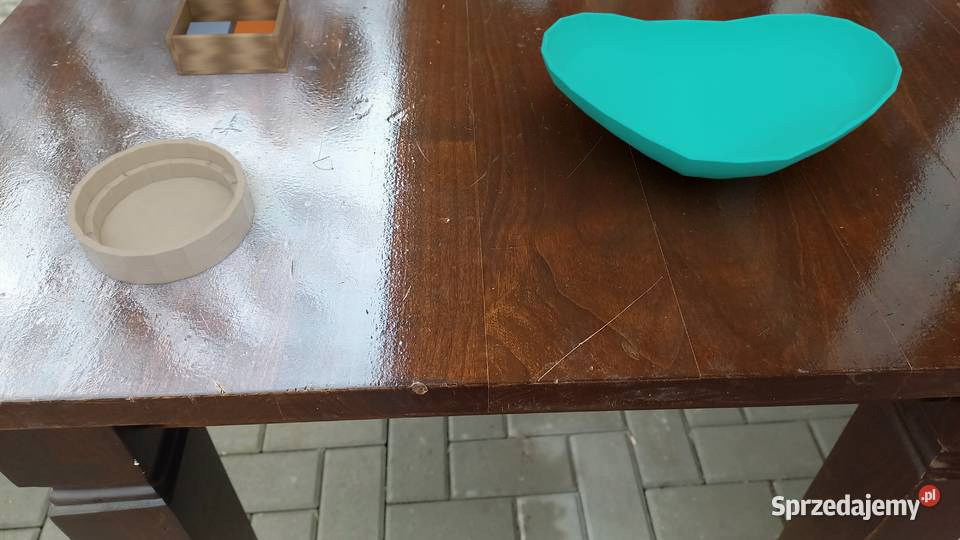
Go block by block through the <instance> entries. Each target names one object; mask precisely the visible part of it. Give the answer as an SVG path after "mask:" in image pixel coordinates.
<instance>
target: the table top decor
mask: <svg viewBox="0 0 960 540" xmlns="http://www.w3.org/2000/svg"><path fill="white" fill-rule="evenodd" d="M540 52H541V55H542V58H543V62H544V64H545V65H544V66H545V67H546V70H547V73H548V74H549V76H550V78H551V81H552V83H553V84H554V85H555V86H556V87H557V88H558V89H559V90H560V91H561V92H562V93H563V94H564V95H565V96H566V97H567V98H568V99H569V100H570V101H571V102H573V104H575V105H576V106H577V107H578V109H580V110H581V111H583V112H584V113H585V114H586V116H588V117H590V118H591V119H592V120H594V121H595V122H597V123H598V125H601V126H602V128H605V129H606V130H607V131H609V132H610V133H611V134H612V135H614V136H616V137H617V138H619V139H620V140H622V141H623V142H625V143H627V144H628V145H630V146H631V147H633V148H634V149H635V150H637V151H639V152H640V153H642V154H644V155H645V156H647V157H649V158H650V159H652V160H654V161H656V162H658V163H660V164H661V165H664V166H665V167H667V168H669V169H671V170H673V172H676V173H677V174H680V175H682V176H686V177H694V178H704V179H712V180H713V179H715V180H725V179H735V178H746V177H758V176H759V177H760V176H767V175H770V174H772V173H775V172H778V171H780V170H782V169H785V168H787V167H789V166H791V165H793V164H796V163H798V162H800V161H802V160H804V159H806V158H808V157H811V156H812V155H813V156H814V155H815V154H817V153H819V152H822V151H824V150H825V149H827V148H828V147H831V146H832V145H833V144H835V143H836V142H838V141H840V140H841V139H842V138H844V137H845V136H846V135H848V134H850V133H852V132H853V131H854V130H856V129H857V128H859V127H860V126H861V125H863V124H864V123H865V122H866V121H867V120H868V119H870V118H871V117H872V115H874V114H875V113H876V112H877V111H878V110H879V109H880V108H881V107H882V105H883V104H884V103H885V102H886V101H887V100H888V99H889V98H890V97H891V96H892V95H893V94H894V93H895V92H896V91H897V87H898V86H899V85H898V84H899V81H900V78H901V75H902V72H903V68H902V66H901V64H900V60H899V58H898V56H897V53H896V50H895V49H894V48H893V47H891V45H890V44H888V43H887V41H885V40H884V39H883V38H882V37H881V36H880V35H879V34H878V33H877V32H876V31H873V30H871V29H869V28H867V27H865V26H863V25H860V24H858V23H856V22H854V21H852V20H849V19H846V18H842V17H841V18H840V17H835V16H828V15H821V14H817V13H774V14H769V13H768V14H763V15H756V16H751V17H744V18H738V19H731V20H700V19H698V20H697V19H669V20H668V19H667V20H666V19H665V20H663V19H661V20H644V19H639V18H634V17H630V16H625V15H620V14H616V13H609V12H608V13H607V12H605V13H604V12H580V13H575V14H572V15H567V16H564V17H560V18H559V19H557V21H555V22H554V23H553V24H552V25H551V26H550V27H549V28H548V29H546V30H545V32H544V33H543V38H542V43H541V47H540Z"/></svg>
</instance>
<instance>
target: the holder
mask: <svg viewBox="0 0 960 540" xmlns="http://www.w3.org/2000/svg"><path fill="white" fill-rule="evenodd" d="M290 6H291V5H290V1H289V0H179V3H178V5H177V7H176V10H175V12H174V15H173V17H172V20H171V23H170V25H169V27H168V30H167V32H166V35H165V37H164V40H165V42H166V45H167V49H168V51H169V53H170V56H171V59H172V61H173V64H174V67H175V69H176V73H177V75H178V76H198V75H199V76H201V75H203V76H204V75H237V74H239V75H241V74H274V73H275V74H276V73H288V68H289V63H290V57H291V53H292V47H293V42H294V37H295V31H296V30H295V26H294V20H293V16H292V12H291V7H290ZM273 20H276V24H275V28H274V32H273V33H242V34H198V35H186V34H187V31H188V28H189V25H190V23H191V22H231V24H232V28H233V31H235V28H236V25H237V21H273Z"/></svg>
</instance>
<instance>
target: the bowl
mask: <svg viewBox="0 0 960 540" xmlns="http://www.w3.org/2000/svg"><path fill="white" fill-rule="evenodd" d="M255 211H256V209H255V206H254V202H253V198H252V195H251V191H250V188H249V185H248V181H247V179H246V175H245V173H244V170H243V166H242V164H241V163H240V162H239V161H238V159H236V157H235V156H234V155H233V154H232V153H231V151H229V150H227V149H225V148H223V147H221V146H219V145H216V144H215V143H213V142H209V141H204V140H199V139H194V138H162V139H157V140H153V141H148V142H143V143H139V144H135V145H133V146H131V147H127V148H126V149H123V150H120V151H119V152H116V153H113V154H111V155H110V156H108V157H107V158H105V159H104V160H102V161H101V162H99V163H98V164H97V165H95V166H92V168H90V170H88V172H87V173H86V174H85V175H84V176H83V177H81V179H80V180H79V181H78V182H77V183H76V185H74V187H73V189H72V192H71V194H70V196H69V198H68V201H67V203H66V225H67V226H68V228H69V229H70V231H71V233H72V234H73V236H74V237H75V239H76V240H77V242H78V244H79V246H80V247H81V249H82V250H83V252H84V253H85V255H86V256H87V258H88V260H89V261H90V263H91V264H92V266H93V268H95V270H97V271H99V272H100V273H102V274H103V275H105V276H107V277H109V278H110V279H111V280H115V281H119V282H125V283H128V284H133V285H138V286H140V285H141V286H144V285H162V284H164V285H165V284H170V283H173V282H178V281H180V280H183V279H188V278H191V277H196V276H198V275H199V274H201V273H203V272H205V271H207V270H209V269H211V268H212V267H215V266H217V265H219V264H220V263H222V262H223V261H224V260H225V259H226V258H227V257H229V256H230V255H231V254H232V253H233V252H235V251H236V250H237V249H238V248H239V247H240V246H241V244H242V243H243V241H244V239H245V238H246V237H247V235H248V233H249V232H250V231H251V229H252V226H253V221H254V215H255Z"/></svg>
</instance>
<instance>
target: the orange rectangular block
mask: <svg viewBox="0 0 960 540" xmlns="http://www.w3.org/2000/svg"><path fill="white" fill-rule="evenodd" d="M275 24H276V20H273V21H237V25H236V28H235V31H234V34H242V33H273V32H274V28H275Z"/></svg>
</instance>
